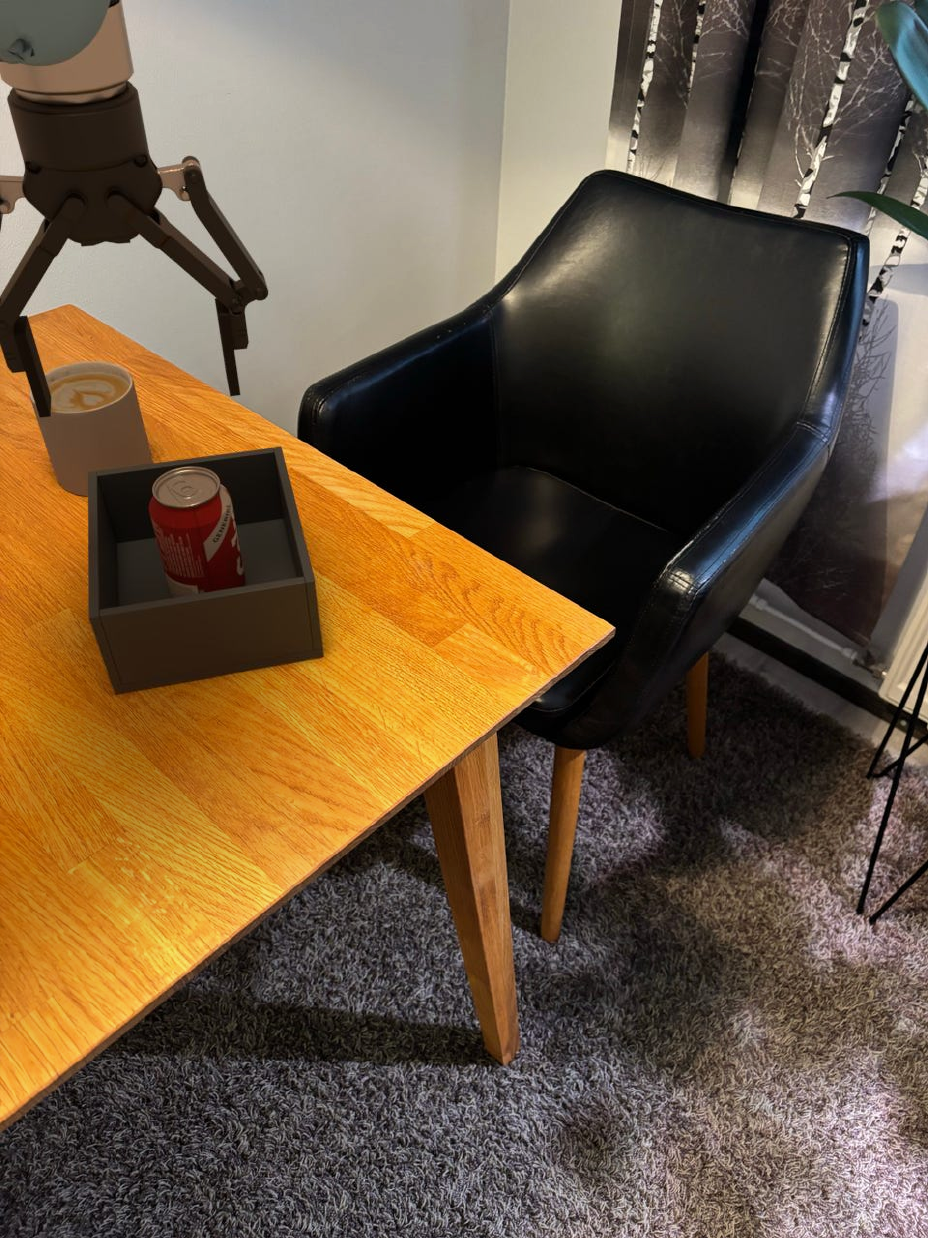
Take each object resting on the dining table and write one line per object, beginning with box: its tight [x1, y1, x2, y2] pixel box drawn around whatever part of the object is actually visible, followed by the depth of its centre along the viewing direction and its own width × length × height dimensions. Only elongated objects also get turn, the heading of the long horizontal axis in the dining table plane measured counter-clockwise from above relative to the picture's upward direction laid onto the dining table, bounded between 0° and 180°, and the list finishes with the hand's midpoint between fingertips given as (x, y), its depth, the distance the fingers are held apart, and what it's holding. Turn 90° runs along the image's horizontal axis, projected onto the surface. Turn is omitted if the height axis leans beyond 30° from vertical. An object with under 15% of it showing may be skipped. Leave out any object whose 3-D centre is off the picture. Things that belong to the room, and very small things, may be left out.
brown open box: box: [87, 445, 324, 695], centre depth 86 cm, size 18×20×9 cm
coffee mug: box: [28, 360, 154, 497], centre depth 101 cm, size 13×10×10 cm
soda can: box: [149, 467, 246, 598], centre depth 84 cm, size 7×7×12 cm
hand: (141, 397), depth 72 cm, fingers open, 13 cm apart
